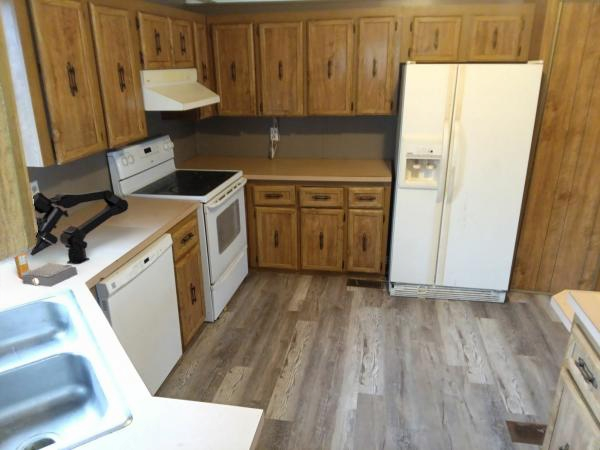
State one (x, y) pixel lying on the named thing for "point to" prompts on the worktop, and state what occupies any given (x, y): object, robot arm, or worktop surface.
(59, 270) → the pan
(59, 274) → the kitchen scale
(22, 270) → the supplement box
